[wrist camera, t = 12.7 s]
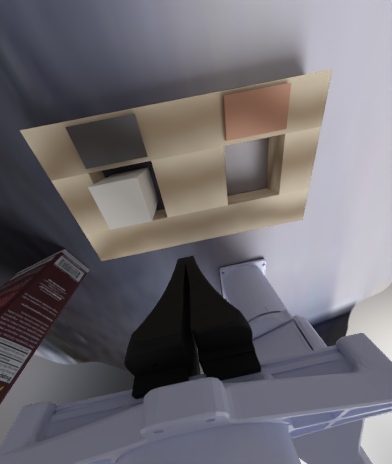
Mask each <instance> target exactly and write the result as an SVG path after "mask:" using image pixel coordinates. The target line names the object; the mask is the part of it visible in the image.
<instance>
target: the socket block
mask: <svg viewBox="0 0 392 464" xmlns="http://www.w3.org/2000/svg"><path fill="white" fill-rule="evenodd" d="M331 74H332V69H331V70H326V71H321V72H315V73H310V74H305V75H300V76H295V77H290V78H285V79H280V80H275V81H270V82H264V83H259V84H254V85H249V86H244V87H239V88H234V89H229V90H224V91H219V92H213V93H208V94H203V95H198V96H193V97H188V98H183V99H178V100H173V101H168V102H162V103H157V104H152V105H147V106H142V107H137V108H132V109H127V110H122V111H117V112H111V113H106V114H101V115H96V116H91V117H86V118H81V119H76V120H71V121H66V122H60V123H55V124H50V125H45V126H40V127H35V128H30V129H25V130H20V132H21V133H22V135H23V137H24V138H25V140H26V141H27V143H28V145H29V146H30V148H31V149H32V151H33V153H34V154H35V156H36V157H37V159H38V160H39V162H40V164H41V165H42V167H43V168H44V170H45V172H46V173H47V175H48V176H49V178H50V180H51V181H52V183H53V184H54V186H55V187H56V189H57V191H58V192H59V194H60V195H61V197H62V199H63V200H64V202H65V203H66V205H67V207H68V208H69V210H70V211H71V213H72V215H73V216H74V218H75V219H76V221H77V222H78V224H79V226H80V227H81V229H82V230H83V232H84V234H85V235H86V237H87V238H88V240H89V242H90V243H91V245H92V246H93V248H94V249H95V251H96V253H97V254H98V256H99V257H100V259H101V261H105V260H110V259H115V258H119V257H124V256H129V255H134V254H139V253H144V252H148V251H153V250H158V249H163V248H168V247H172V246H177V245H182V244H187V243H192V242H197V241H201V240H206V239H211V238H216V237H221V236H226V235H230V234H235V233H240V232H245V231H250V230H255V229H259V228H264V227H269V226H274V225H279V224H283V223H288V222H293V221H298V220H303V215H304V210H305V205H306V200H307V195H308V190H309V185H310V180H311V175H312V170H313V165H314V160H315V155H316V150H317V145H318V140H319V135H320V130H321V125H322V120H323V115H324V110H325V104H326V99H327V94H328V89H329V84H330V79H331ZM267 137H269V147H268V164H267V181H266V188H264V189H259V190H254V191H250V192H245V193H240V194H235V195H230V196H227V185H226V171H225V156H224V146H227V145H232V144H237V143H242V142H247V141H252V140H257V139H262V138H267ZM147 161H151V162H152V165H153V169H154V172H155V176H156V179H157V183H158V186H159V189H160V193H161V196H162V200H163V203H164V207H165V209H161V210H156V211H155V214H154V217H153V220H152V221H151V222H146V223H141V224H136V225H131V226H126V227H122V228H117V229H112V230H110V229H109V227H108V225H107V223H106V221H105V219H104V217H103V215H102V213H101V212H100V210H99V208H98V206H97V204H96V202H95V200H94V198H93V196H92V194H91V192H90V190H89V189H88V187H89V186H91V185H93V184H95V183H97V182H99V181H101V180H103V179H105V176H104V174H103V171H102V170H107V169H112V168H117V167H122V166H127V165H132V164H137V163H142V162H147Z"/></svg>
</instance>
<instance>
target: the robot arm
mask: <svg viewBox="0 0 392 464" xmlns="http://www.w3.org/2000/svg"><path fill="white" fill-rule="evenodd" d="M219 271H220V279H221V286H222V294H223V297H222V296H221V295H220V294H219V293H218V292H217V291H216V290H215V289H214V288H213V287H212V286H211V284H210V283H209V282H208V281H207V279H206V278H205V277H204V275H203V274H202V272H201V271H200V269H199V267H198V266H197V264H196V261H195V258H194V256H190V257H185V258H180V259H178V260H177V264H176V267H175V270H174V272H173V275H172V277H171V280H170V282H169V284H168V286H167V288H166V290H165V292H164V294H163V295H162V297H161V299H160V300H159V302H158V303H157V305H156V306H155V308H154V309H153V310H152V312H151V313H150V314H149V316H148V317H147V318H146V319H145V321H144V322H143V323H142V324H141V325H140V326H139V327H138V328H137V330H136V331H135V332H134V333H133V334H132V336H131V339H130V342H129V345H128V348H127V353H126V357H125V361H124V365H125V366H126V368H127V369H128V370H129V371H130V372H131V373H132V374H133V375H134V376H135V378H134V385H133V389H132V390H128V391H123V392H118V393H114V394H109V395H105V396H100V397H95V398H91V399H86V400H82V401H77V402H72V403H68V404H63V405H59V406H56V405H55V404H54V403H51V402H40V403H36V404H31V405H27V406H24V407H22V409H21V411H20V413H19V414H18V416H17V418H16V420H15V421H14V423H13V425H12V426H11V428H10V430H9V432H8V434H7V435H6V437H5V439H4V440H3V442H2V444H1V446H0V464H301V462H300V460H299V458H300V459H302V460H303V461H304V462H306V463H307V464H372V462H371V461H370V459H369V458H368V456H367V455H366V453H365V452H364V450H363V449H362V447H361V446H360V444H361V437H362V432H363V426H364V420H365V418H368V417H372V416H376V415H381V414H385V413H389V412H392V362H391V361H390V360H389V359H388V358H387V357H386V356H385V355H384V354H383V352H382V351H380V349H379V348H378V347H377V346H376V345H374V343H373V342H372V341H371V340H370V339H369V338H368V337H367V336H366V335H365V334H363V333H359V334H354V335H349V336H345V337H342V338H340V339H339V340H338V341H337V342H336V345H335V346H330V347H327V346H326V344H325V343H324V342H323V340H322V339H321V338H320V336H319V335H318V334H317V332H316V331H315V330H314V328H313V327H312V326H311V325H310V323H309V322H308V321H307V320H306V318H304V317H301V316H299V315H295V316H294V317H293V316H292V315H291V314H290V313H289V311H288V310H287V308H286V307H285V305H284V304H283V302H282V301H281V299H280V298H279V296H278V295H277V293H276V292H275V290H274V289H273V287H272V286H271V284H270V283H269V281H268V280H267V278H266V277H265V272H266V260H265V259H260V260H255V261H250V262H245V263H240V264H236V265H231V266H226V267H222V268H220V270H219ZM222 272H223V273H222ZM197 348H198V353H197ZM198 357H199V360H198ZM199 363H200V364H201V367H202V369H203V372H204V374H200V367H199Z"/></svg>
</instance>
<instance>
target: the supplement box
mask: <svg viewBox="0 0 392 464" xmlns="http://www.w3.org/2000/svg"><path fill="white" fill-rule="evenodd" d="M88 271H89V269H88V268H87V267H86V266H85V265H84V264H82V263H81V262H80V261H79V260H78V259H77V258H75V257H74V256H73V255H72V254H71V253H69V252H68V251H67V250H66V249H63V250H61V251H59V252H57V253H56V254H54V255H52V256H50V257H48V258H46V259H44V260H42V261H40V262H38V263H36V264H34V265H32V266H30V267H28V268H26V269H24V270H22V271H20V272H18V273H17V274H16V275H15V276H14V277H12V278H11V279H10V280H9V281H8V282H7V283H5V284H4V285H3V286H2V287H1V288H0V404H1V402H2V401H3V399H4V398H5V396H6V395H7V393H8V392H9V390H10V389H11V387H12V386H13V384H14V383H15V381H16V380H17V378H18V377H19V375H20V374H21V372H22V371H23V369H24V368H25V366H26V364H27V363H28V361H29V360H30V359H31V357H32V356H33V354H34V352H35V351H36V349H37V348H38V346H39V345H40V343H41V342H42V340H43V339H44V337H45V336H46V334H47V333H48V331H49V330H50V328H51V327H52V325H53V324H54V322H55V321H56V319H57V318H58V316H59V315H60V313H61V312H62V310H63V309H64V307H65V306H66V304H67V303H68V301H69V300H70V298H71V297H72V295H73V294H74V292H75V291H76V289H77V288H78V286H79V285H80V283H81V282H82V280H83V279H84V277H85V276H86V274H87V273H88Z"/></svg>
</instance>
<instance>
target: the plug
mask: <svg viewBox="0 0 392 464" xmlns="http://www.w3.org/2000/svg"><path fill="white" fill-rule="evenodd" d="M88 189H89V190H90V192H91V194H92V196H93V198H94V200H95V202H96V204H97V206H98V208H99V210H100V212H101V213H102V215H103V217H104V219H105V221H106V223H107V225H108V227H109V229H110V230H112V229H117V228H122V227H126V226H131V225H136V224H141V223H146V222H151V221H152V220H153V217H154V214H155V210H156V207H157V204H158V198H157V195H156V191H155V188H154V185H153V181H152V178H151V175H150V172H149V168H148V167H147V168H142V169H137V170H132V171H127V172H122V173H117V174H113V175H111V176H109V177H107V178H105V179H103V180H101V181H99V182H97V183H95V184H93V185H91V186H89V187H88Z"/></svg>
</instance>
